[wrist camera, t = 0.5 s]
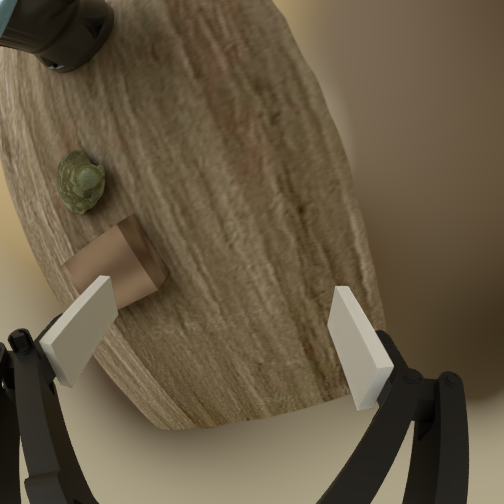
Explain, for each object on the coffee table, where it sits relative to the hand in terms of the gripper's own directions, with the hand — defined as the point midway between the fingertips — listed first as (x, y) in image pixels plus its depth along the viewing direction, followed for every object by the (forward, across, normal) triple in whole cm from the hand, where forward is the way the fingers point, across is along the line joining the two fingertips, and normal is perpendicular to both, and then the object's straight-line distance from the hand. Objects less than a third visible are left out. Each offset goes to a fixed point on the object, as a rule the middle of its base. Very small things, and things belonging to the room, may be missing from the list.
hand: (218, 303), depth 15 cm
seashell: (+27, -26, +4) cm, 37 cm away
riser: (+26, -22, -11) cm, 35 cm away
